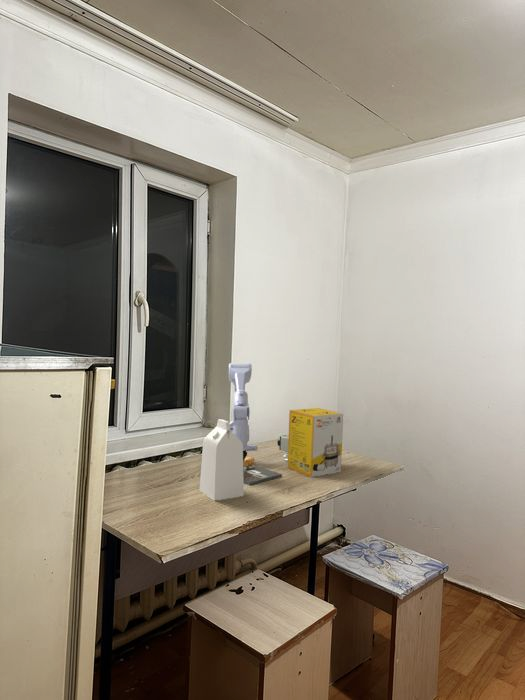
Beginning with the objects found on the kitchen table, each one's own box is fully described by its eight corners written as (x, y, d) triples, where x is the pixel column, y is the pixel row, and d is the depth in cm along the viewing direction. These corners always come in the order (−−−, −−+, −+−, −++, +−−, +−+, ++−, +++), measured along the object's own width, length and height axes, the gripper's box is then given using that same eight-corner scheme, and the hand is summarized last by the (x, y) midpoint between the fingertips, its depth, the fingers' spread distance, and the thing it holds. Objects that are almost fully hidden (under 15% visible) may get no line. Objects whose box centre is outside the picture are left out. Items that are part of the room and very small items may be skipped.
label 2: (252, 475, 187) (252, 475, 187) (258, 474, 189) (258, 473, 189) (261, 478, 183) (261, 478, 183) (267, 477, 186) (267, 476, 186)
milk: (243, 495, 166) (246, 422, 165) (214, 501, 160) (216, 424, 159) (227, 486, 176) (229, 416, 176) (199, 490, 170) (201, 418, 169)
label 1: (246, 472, 192) (246, 471, 192) (252, 470, 194) (252, 469, 194) (254, 474, 188) (254, 473, 188) (261, 473, 191) (261, 472, 191)
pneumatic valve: (297, 464, 210) (298, 437, 210) (276, 459, 217) (277, 433, 217) (304, 462, 214) (305, 435, 214) (283, 457, 222) (284, 431, 221)
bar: (248, 462, 201) (248, 456, 201) (256, 463, 199) (256, 457, 199) (224, 470, 188) (224, 463, 188) (232, 472, 186) (232, 465, 186)
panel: (215, 473, 192) (215, 468, 192) (247, 465, 205) (248, 461, 205) (249, 485, 178) (249, 480, 178) (281, 476, 191) (282, 471, 191)
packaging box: (315, 462, 214) (317, 407, 213) (340, 472, 200) (343, 413, 199) (287, 467, 204) (289, 410, 204) (311, 477, 191) (313, 416, 190)
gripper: (226, 438, 181) (225, 474, 182) (261, 436, 187) (259, 470, 188) (220, 435, 188) (219, 469, 188) (253, 433, 194) (252, 465, 194)
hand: (239, 469), depth 188 cm, fingers closed
